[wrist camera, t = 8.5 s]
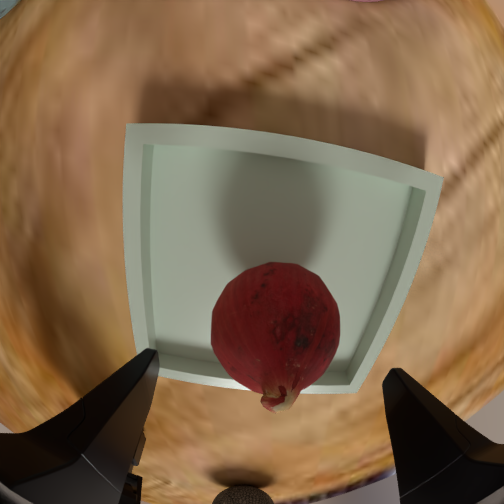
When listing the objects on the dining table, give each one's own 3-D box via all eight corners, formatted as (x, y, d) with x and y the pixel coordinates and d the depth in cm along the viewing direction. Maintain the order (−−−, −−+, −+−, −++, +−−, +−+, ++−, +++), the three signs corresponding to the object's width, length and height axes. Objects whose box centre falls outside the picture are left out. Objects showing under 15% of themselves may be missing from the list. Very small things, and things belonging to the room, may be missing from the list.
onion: (250, 216, 14) (252, 324, 6) (340, 264, 15) (398, 374, 8) (202, 299, 16) (177, 419, 9) (285, 334, 17) (301, 446, 10)
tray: (148, 353, 19) (140, 371, 17) (142, 124, 13) (126, 123, 11) (350, 374, 19) (356, 392, 18) (424, 171, 13) (443, 177, 11)
